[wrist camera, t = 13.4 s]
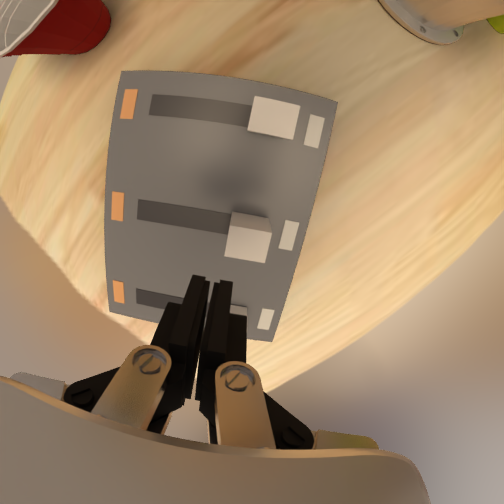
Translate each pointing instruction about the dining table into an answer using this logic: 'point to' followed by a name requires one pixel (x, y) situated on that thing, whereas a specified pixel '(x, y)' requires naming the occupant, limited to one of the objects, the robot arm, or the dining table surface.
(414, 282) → the dining table surface
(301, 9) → the dining table surface
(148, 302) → the switch panel
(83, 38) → the plastic cup
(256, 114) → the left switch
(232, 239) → the switch
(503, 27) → the soap dispenser
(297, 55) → the dining table surface
